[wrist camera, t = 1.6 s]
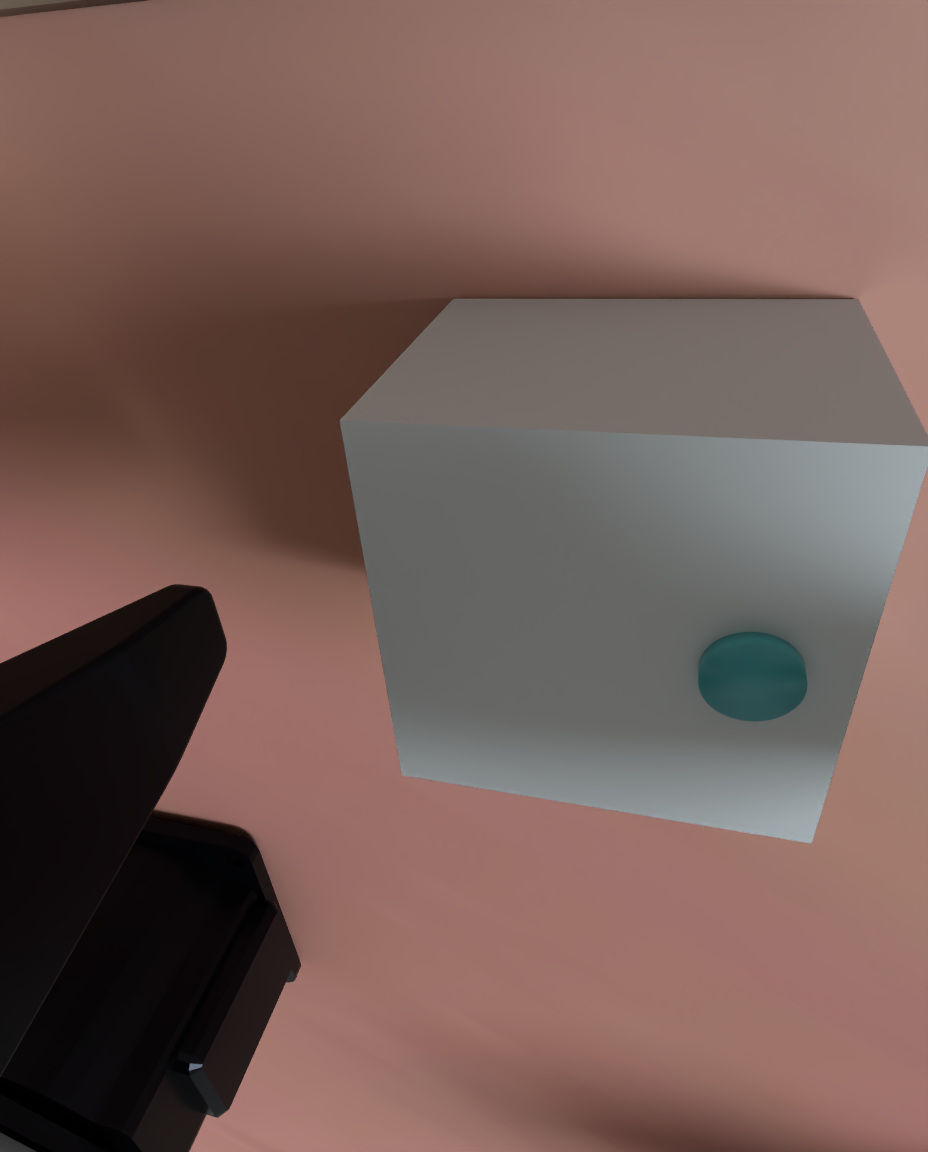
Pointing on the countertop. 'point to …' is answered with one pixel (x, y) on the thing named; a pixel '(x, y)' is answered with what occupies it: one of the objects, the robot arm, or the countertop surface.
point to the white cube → (634, 547)
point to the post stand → (50, 5)
